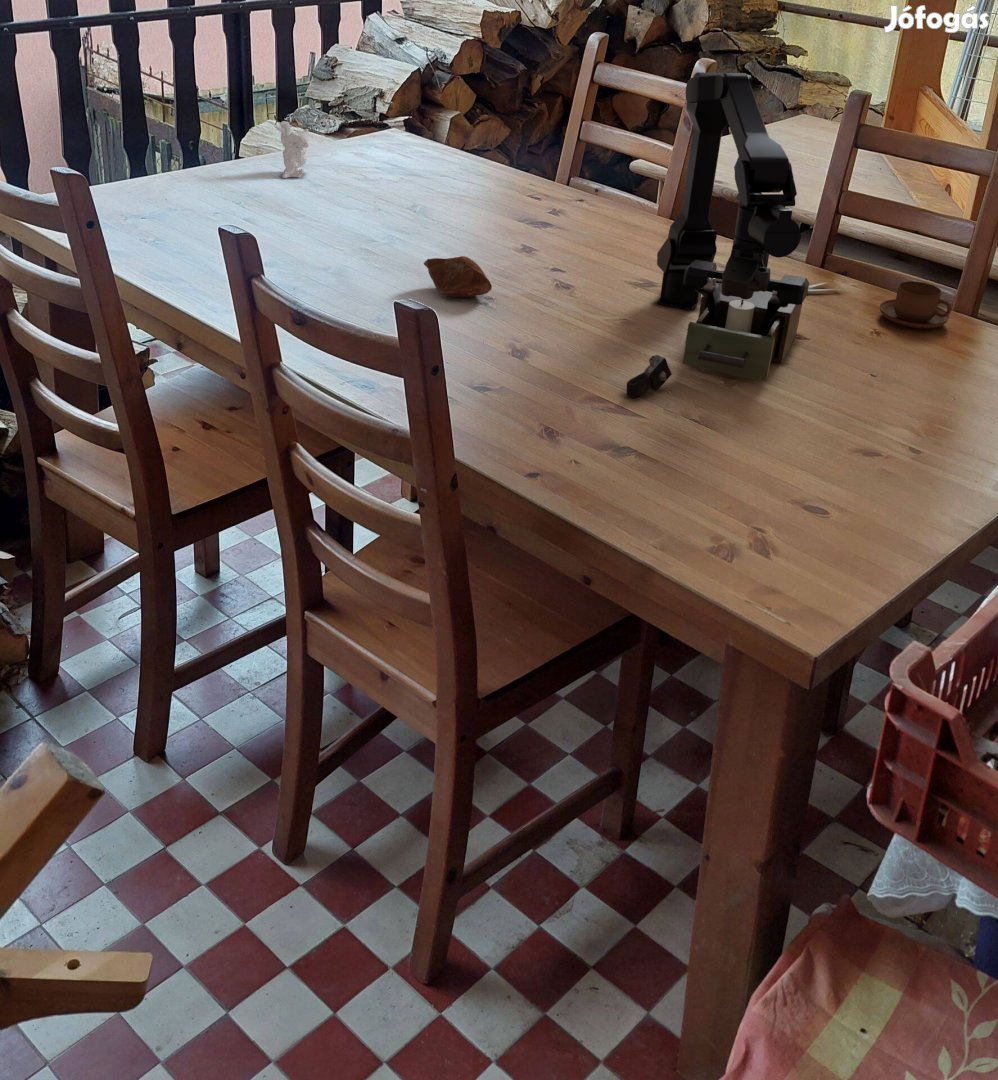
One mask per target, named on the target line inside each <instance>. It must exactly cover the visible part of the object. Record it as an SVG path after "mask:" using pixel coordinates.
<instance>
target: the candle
mask: <svg viewBox="0 0 998 1080" xmlns="http://www.w3.org/2000/svg"><path fill="white" fill-rule="evenodd" d="M754 307H755V306H754V304H752V303H750V302H748V301H744V300H734V301H731V302H729V307H728V313H727V319H726V325H725V329H730V330H735V331H741V332H746V333H750V330H751V324H752V319H753V313H754Z"/></svg>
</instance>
